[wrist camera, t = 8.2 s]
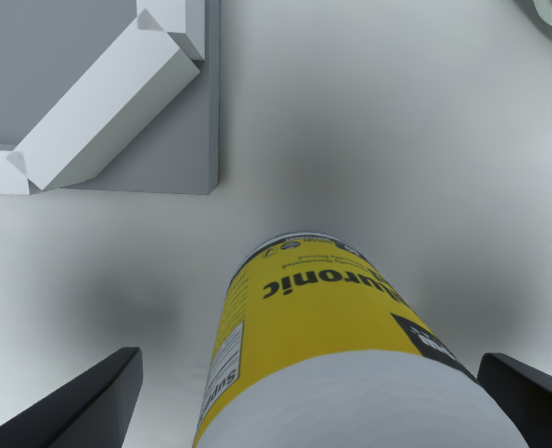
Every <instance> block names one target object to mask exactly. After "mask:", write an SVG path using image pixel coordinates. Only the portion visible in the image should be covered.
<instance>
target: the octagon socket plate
mask: <svg viewBox="0 0 552 448" xmlns="http://www.w3.org/2000/svg"><path fill="white" fill-rule="evenodd" d="M219 65H220V0H0V194H17V195H32V194H36V193H40V192H44V191H48V190H52V189H56V188H70V189H91V190H112V191H133V192H154V193H175V194H196V195H209V194H210V193H211V192H212V191H213V190H214V189H215V187H216V186H217V185H218V158H219Z"/></svg>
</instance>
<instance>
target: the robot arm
mask: <svg viewBox="0 0 552 448" xmlns="http://www.w3.org/2000/svg"><path fill="white" fill-rule="evenodd" d="M477 380H478V381H479V382H480V384H481V385H482V387H483V388H484V389H485V391H486V392H487V393H488V394H489V395H490V396H491V397H492V398H493V399H494V400H495V402H496V403H497V405H498V406H499V407H500V408H501V409H502V410H503V412H504V413H505V414H506V415H507V416H508V417H509V419H510V420H511V421H512V422H513V423H514V425H515V426H516V428H517V429H518V430H519V432H520V433H521V435H522V437H523V438H524V440H525V441H526V443H527V445H528V446H529V448H552V376H550V375H548V374H546V373H544V372H541V371H539V370H537V369H535V368H533V367H531V366H529V365H526V364H524V363H522V362H520V361H518V360H516V359H513V358H511V357H509V356H507V355H505V354H502V353H485V354H484V355H483V357H482V360H481V364H480V367H479V371H478V375H477ZM142 382H143V363H142V351H141V349H140V348H139V347H123V348H121V349H119V350H118V351H116V352H115V353H113V354H112V355H110V356H108V357H107V358H105V359H104V360H102V361H101V362H99V363H98V364H96V365H94V366H93V367H91V368H90V369H88V370H87V371H85V372H84V373H82V374H80V375H79V376H77V377H76V378H74V379H73V380H71V381H70V382H68V383H66V384H65V385H63V386H62V387H60V388H59V389H57V390H56V391H54V392H52V393H51V394H49V395H48V396H46V397H45V398H43V399H42V400H40V401H38V402H37V403H35V404H34V405H32V406H31V407H29V408H28V409H26V410H24V411H23V412H21V413H20V414H18V415H17V416H15V417H13V418H12V419H10V420H9V421H7V422H6V423H4V424H3V425H1V426H0V448H121V447H122V444H123V442H124V439H125V436H126V432H127V429H128V426H129V423H130V420H131V417H132V414H133V411H134V408H135V405H136V401H137V398H138V395H139V392H140V389H141V386H142Z"/></svg>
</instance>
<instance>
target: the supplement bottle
mask: <svg viewBox="0 0 552 448" xmlns="http://www.w3.org/2000/svg"><path fill="white" fill-rule="evenodd" d="M192 448H529V446H528V445H527V443H526V441H525V440H524V438H523V437H522V435H521V433H520V432H519V430H518V429H517V428H516V426H515V425H514V423H513V422H512V421H511V420H510V419H509V417H508V416H507V415H506V414H505V413H504V412H503V410H502V409H501V408H500V407H499V406H498V405H497V403H496V402H495V400H494V399H493V398H492V397H491V396H490V395H489V394H488V393H487V392H486V391H485V389H484V388H483V387H482V385H481V384H480V382H479V381H478V380H477V379H476V378H475V377H474V376H473V375H472V374H471V373H470V372H469V371H468V370H467V369H466V368H465V367H464V366H463V365H462V364H461V363H460V361H459V360H457V359H456V357H455V356H454V355H453V354H452V353H451V352H450V351H449V350H448V349H447V347H446V346H445V345H444V344H443V343H442V342H441V341H440V340H439V339H438V338H437V337H436V336H435V334H434V333H433V332H432V331H431V330H430V329H429V328H428V327H427V326H426V325H425V324H424V322H423V321H422V320H421V319H420V318H419V317H418V316H417V314H416V313H415V312H414V311H413V310H412V309H411V308H410V307H409V306H408V305H407V303H406V302H405V301H404V300H403V299H402V298H401V297H400V296H399V295H398V294H397V292H396V291H395V290H394V289H393V288H392V287H391V286H390V285H389V283H388V282H387V281H386V280H385V279H384V278H383V277H382V276H381V275H380V274H379V273H378V272H377V270H376V269H375V268H374V267H373V265H372V264H371V263H369V262H368V261H367V260H366V258H365V257H364V256H362V255H361V254H360V253H359V252H358V251H357V250H355V249H354V248H353V247H351V246H350V245H348V244H347V243H345V242H343V241H341V240H339V239H337V238H334V237H331V236H328V235H324V234H320V233H312V232H301V233H292V234H287V235H283V236H280V237H277V238H274V239H272V240H270V241H268V242H266V243H264V244H262V245H261V246H259V247H258V248H256V249H255V250H254V251H253V252H251V253H250V254H249V255H248V256H247V257H246V259H245V260H244V261H243V262H242V263H241V265H240V266H239V267H238V269H237V270H236V272H235V274H234V276H233V278H232V280H231V282H230V285H229V288H228V291H227V294H226V298H225V302H224V307H223V311H222V316H221V320H220V324H219V329H218V333H217V338H216V343H215V347H214V351H213V356H212V361H211V365H210V370H209V375H208V379H207V384H206V388H205V393H204V398H203V402H202V407H201V411H200V415H199V420H198V425H197V430H196V434H195V438H194V442H193V447H192Z"/></svg>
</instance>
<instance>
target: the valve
mask: <svg viewBox="0 0 552 448" xmlns="http://www.w3.org/2000/svg"><path fill="white" fill-rule="evenodd" d="M534 4H535V8H536V10H537V12H538V14H539V16H540V18H541V19H543V20H544V21H545V22H546V23H547V24H549V25H550V26H552V0H534Z"/></svg>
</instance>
